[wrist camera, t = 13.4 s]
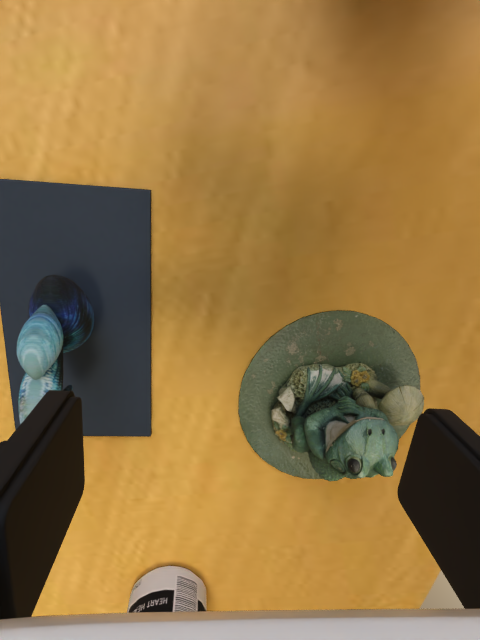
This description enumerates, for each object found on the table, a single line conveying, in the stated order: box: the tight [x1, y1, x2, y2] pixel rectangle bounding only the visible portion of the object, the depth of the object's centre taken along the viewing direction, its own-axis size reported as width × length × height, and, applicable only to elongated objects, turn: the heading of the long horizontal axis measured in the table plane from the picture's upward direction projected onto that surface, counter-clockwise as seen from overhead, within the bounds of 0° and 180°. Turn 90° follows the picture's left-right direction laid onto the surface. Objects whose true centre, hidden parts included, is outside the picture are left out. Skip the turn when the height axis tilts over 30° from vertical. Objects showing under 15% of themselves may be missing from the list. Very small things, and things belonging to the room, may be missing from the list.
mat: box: [0, 179, 151, 436], centre depth 32 cm, size 22×12×1 cm, turn 176°
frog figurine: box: [239, 311, 424, 481], centre depth 31 cm, size 18×18×12 cm
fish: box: [17, 275, 94, 425], centre depth 27 cm, size 4×10×10 cm, turn 176°
